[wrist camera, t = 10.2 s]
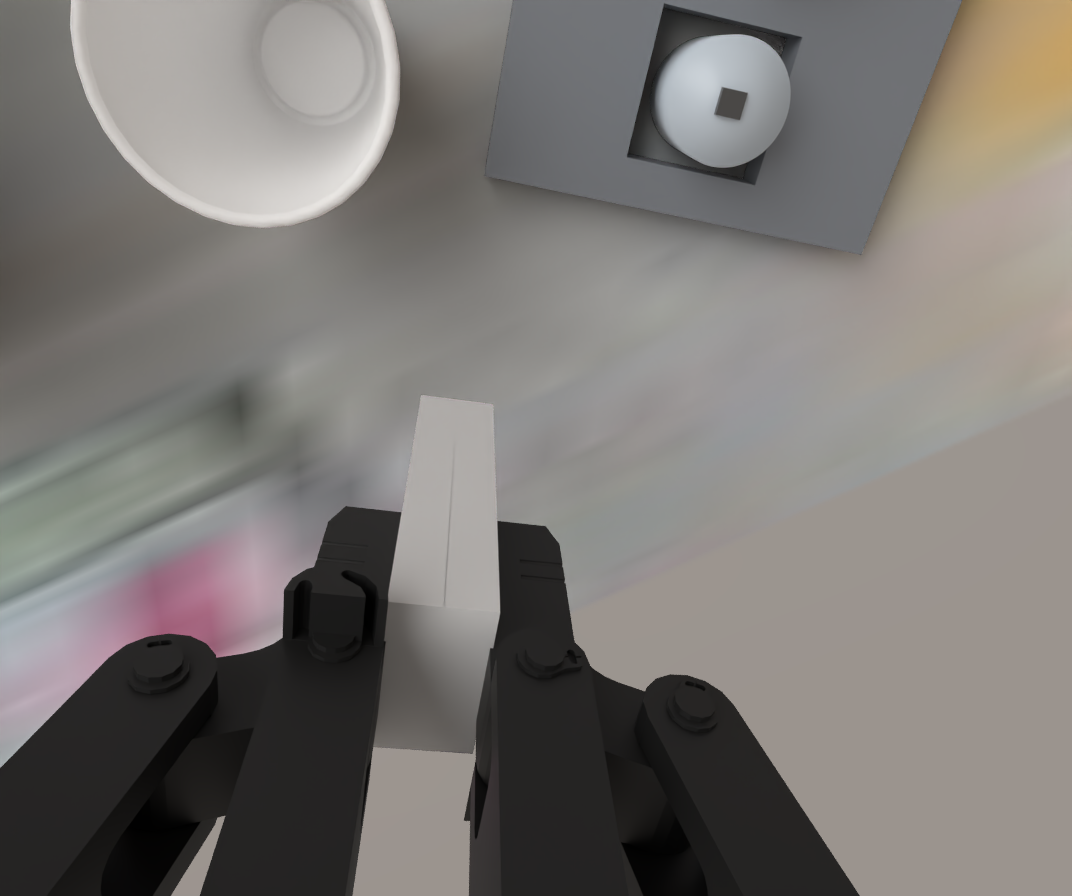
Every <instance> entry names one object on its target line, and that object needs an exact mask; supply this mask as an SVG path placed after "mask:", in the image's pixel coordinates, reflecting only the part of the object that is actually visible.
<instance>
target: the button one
mask: <svg viewBox="0 0 1072 896" xmlns="http://www.w3.org/2000/svg"><path fill="white" fill-rule="evenodd" d="M790 98H791V89H790V80H789V76H788V72H787V70H786V67H785V65H784V63H783V61H782V59H781V58H780V56H779V55H778V54H777V52H776V51H775V50H774V49H773V48H772V47H771V46H769V45H768V44H767V43H765V42H764V41H762V40H760V39H758V38H755V37H752V36H748V35H742V34H731V35H714V36H702V37H697V38H694V39H691V40H689V41H686V42H684V43H683V44H681V45H680V46H678V47H677V48H676V49H674V50H673V51H672V52H671V53H670V54H669V55H668V56H667V57H666V58H665V60H664V61H663V62H662V64H661V66H660V67H659V69H658V71H657V73H656V75H655V78H654V81H653V84H652V89H651V96H650V107H651V114H652V118H653V121H654V124H655V126H656V128H657V130H658V132H659V133H660V135H661V136H662V137H663V138H664V140H665V141H666V142H668V143H669V144H670V145H671V146H673V147H674V148H676V149H677V150H679V151H681V152H682V153H684V154H686V155H688V156H689V157H691V158H693V159H694V160H696V161H698V162H700V163H702V164H704V165H708V166H711V167H718V168H727V167H734V166H738V165H742V164H744V163H746V162H749V161H751V160H752V159H754V158H756V157H757V156H759V155H760V154H761V153H763V152H764V151H765V150H766V149H767V148H768V147H769V146H770V145H771V144H772V143H773V141H774V140H775V139H776V137H777V136H778V134H779V133H780V131H781V129H782V127H783V125H784V123H785V120H786V118H787V114H788V111H789V106H790Z"/></svg>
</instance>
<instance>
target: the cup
mask: <svg viewBox="0 0 1072 896" xmlns="http://www.w3.org/2000/svg"><path fill="white" fill-rule="evenodd" d="M70 31H71V38H72V44H73V51H74V58H75V64H76V67H77V70H78V73H79V76H80V79H81V82H82V85H83V88H84V91H85V95H86V98H87V100H88V102H89V104H90V105H91V107H92V109H93V111H94V113H95V115H96V117H97V119H98V121H99V123H100V125H101V127H102V129H103V130H104V132H105V133H106V134H107V136H108V137H109V139H110V140H111V141H112V143H113V144H114V145H115V147H116V148H117V149H118V151H119V152H120V154H121V155H122V156H123V158H124V159H125V160H126V161H127V162H128V163H129V164H130V165H131V166H132V167H133V168H134V169H135V170H136V171H137V172H138V173H139V174H140V175H141V176H142V177H143V178H144V179H145V180H146V181H147V182H148V183H149V184H151V185H152V186H154V187H155V188H156V189H158V190H159V191H161V192H162V193H163V194H165V195H166V196H168V197H169V198H170V199H172V200H173V201H174V202H176V203H178V204H180V205H182V206H184V207H186V208H188V209H190V210H192V211H194V212H196V213H198V214H200V215H202V216H204V217H207V218H211V219H214V220H217V221H221V222H224V223H228V224H231V225H235V226H245V227H255V228H272V227H282V226H292V225H295V224H298V223H302V222H305V221H308V220H311V219H314V218H317V217H320V216H322V215H323V214H325V213H327V212H329V211H330V210H332V209H334V208H336V207H337V206H339V205H341V204H342V203H344V202H345V201H346V200H347V199H348V198H349V197H350V196H351V195H353V194H354V193H355V192H356V191H357V190H358V189H359V188H360V187H361V186H362V185H363V184H364V183H365V182H366V180H367V179H368V178H369V176H370V175H371V173H372V172H373V171H374V169H375V168H376V166H377V165H378V163H379V162H380V161H381V159H382V156H383V154H384V152H385V149H386V147H387V145H388V142H389V140H390V138H391V135H392V133H393V129H394V125H395V120H396V115H397V111H398V106H399V101H400V61H399V54H398V48H397V41H396V35H395V30H394V27H393V24H392V21H391V18H390V15H389V12H388V9H387V6H386V3H385V0H71V15H70Z"/></svg>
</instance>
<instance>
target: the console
mask: <svg viewBox="0 0 1072 896" xmlns="http://www.w3.org/2000/svg"><path fill="white" fill-rule="evenodd" d="M961 2H962V0H513V5H512V11H511V17H510V23H509V29H508V35H507V41H506V47H505V53H504V59H503V65H502V71H501V77H500V83H499V89H498V95H497V101H496V107H495V113H494V119H493V125H492V131H491V137H490V143H489V149H488V155H487V162H486V168H485V174H484V176H486V177H491V178H496V179H500V180H505V181H510V182H515V183H520V184H524V185H529V186H534V187H539V188H544V189H548V190H553V191H558V192H563V193H567V194H572V195H577V196H582V197H587V198H591V199H596V200H601V201H606V202H611V203H615V204H620V205H625V206H630V207H635V208H639V209H644V210H649V211H654V212H658V213H663V214H668V215H673V216H678V217H682V218H687V219H692V220H697V221H702V222H706V223H711V224H716V225H721V226H726V227H730V228H735V229H740V230H745V231H749V232H754V233H759V234H764V235H769V236H773V237H778V238H783V239H788V240H793V241H797V242H802V243H807V244H812V245H817V246H821V247H826V248H831V249H836V250H840V251H845V252H850V253H855V254H860V255H861V254H862V252H863V249H864V247H865V244H866V242H867V239H868V237H869V234H870V232H871V229H872V226H873V224H874V221H875V219H876V216H877V214H878V211H879V209H880V206H881V204H882V201H883V199H884V196H885V194H886V191H887V189H888V186H889V184H890V181H891V179H892V176H893V173H894V171H895V168H896V166H897V163H898V161H899V158H900V156H901V153H902V151H903V148H904V146H905V143H906V141H907V138H908V136H909V133H910V131H911V128H912V126H913V123H914V120H915V118H916V115H917V113H918V110H919V108H920V105H921V103H922V100H923V98H924V95H925V93H926V90H927V88H928V85H929V83H930V80H931V78H932V75H933V73H934V70H935V67H936V65H937V62H938V60H939V57H940V55H941V52H942V50H943V47H944V45H945V42H946V40H947V37H948V35H949V32H950V30H951V27H952V25H953V22H954V19H955V17H956V14H957V12H958V9H959V7H960V4H961ZM663 8H667V9H671V10H675V11H679V12H683V13H687V14H692V15H696V16H700V17H704V18H708V19H712V20H716V21H720V22H724V23H728V24H733V25H737V26H741V27H745V28H749V29H753V30H757V31H761V32H765V33H769V34H774V35H778V36H782V37H786V38H787V39H786V42H785V45H784V49H783V52H782V55H781V59H782V61H783V63H784V65H785V67H786V70H787V72H788V76H789V80H790V89H791V98H790V106H789V111H788V114H787V118H786V120H785V123H784V125H783V127H782V129H781V131H780V133H779V134H778V136H777V137H776V139H775V140H774V141H773V143H772V144H771V145H770V146H769V147H768V148H767V149H766V150H765V151H764V152H763V153H761V154H760V155H759V156H757V157H756V158H754V159H752V160H751V161H749V162H748V164H747V167H746V170H745V173H744V177H743V179H742V178H738V177H733V176H729V175H724V174H719V173H715V172H710V171H706V170H701V169H696V168H692V167H687V166H683V165H678V164H674V163H669V162H664V161H660V160H655V159H651V158H646V157H641V156H637V155H632V154H628V149H629V145H630V141H631V137H632V133H633V129H634V125H635V121H636V117H637V112H638V108H639V104H640V100H641V96H642V92H643V88H644V84H645V80H646V76H647V71H648V67H649V63H650V59H651V55H652V51H653V47H654V43H655V39H656V35H657V30H658V26H659V22H660V18H661V14H662V10H663Z"/></svg>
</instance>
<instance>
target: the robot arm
mask: <svg viewBox="0 0 1072 896" xmlns="http://www.w3.org/2000/svg"><path fill="white" fill-rule="evenodd" d="M564 581H565V578H564V571H563V567H562V558H561V552H560V545H559V543H558V542H557V541H556V539H555V538H554V537H553V535H552V534H551V533H550V532H549V530H548V529H547V528H546V526H538V525H528V524H519V523H510V522H501V521H497V500H496V471H495V441H494V411H493V404H488V403H481V402H473V401H466V400H458V399H450V398H443V397H435V396H427V395H421V399H420V405H419V411H418V417H417V423H416V429H415V435H414V441H413V447H412V453H411V459H410V465H409V471H408V477H407V483H406V489H405V495H404V501H403V507H402V513H401V512H392V511H383V510H374V509H365V508H356V507H347V506H346V507H345V508H344V509H342V510H341V511H340V512H339V513H338V514H337V515H336V516H334V517H333V518H332V519H331V520H330V521H329V522H328V525H327V528H326V531H325V535H324V538H323V541H322V545H321V547H320V551H319V554H318V558H317V561H316V563H315V566H314V567H313V568H309V569H306V570H305V571H303V572H301V573H300V574H298V575H297V576H295V577H293V578H292V579H291V581H290V582H289V584H288V585H287V587H286V588H285V589H284V613H283V638H282V639H280V640H279V641H277V642H276V643H274V644H272V645H270V646H268V647H265V648H263V649H260V650H257V651H253V652H249V653H244V654H239V655H232V656H226V657H219V658H216V655H215V654H214V652H213V651H212V650H211V649H210V647H209V646H208V645H207V644H206V643H204V642H202V641H200V640H197V639H195V638H193V637H191V636H185V635H176V634H164V635H157V636H150V637H146V638H143V639H140V640H138V641H135V642H133V643H130V644H128V645H126V646H124V647H123V648H121V649H120V650H119V651H117V652H116V653H115V654H113V655H112V656H111V657H109V658H108V659H107V660H106V661H105V662H104V663H103V664H102V665H101V666H100V667H99V668H98V669H97V670H96V671H95V672H94V673H93V674H92V675H91V676H90V678H89V679H88V680H87V681H86V682H85V683H84V684H83V685H82V686H81V687H80V688H79V689H78V690H77V691H76V692H75V693H74V694H73V695H72V696H71V697H70V698H69V699H68V700H67V701H66V702H65V703H64V704H63V705H62V706H61V707H60V708H59V709H58V710H57V711H56V712H55V713H54V714H53V715H52V716H51V717H50V718H49V719H48V720H47V721H46V722H45V723H44V724H43V725H42V726H41V727H40V728H39V729H38V730H37V731H36V732H35V733H34V734H33V735H32V736H31V737H30V738H29V740H28V741H27V742H26V743H25V744H24V745H23V746H22V747H21V748H20V749H19V750H18V751H17V752H16V753H15V754H14V755H13V756H12V757H11V758H10V759H9V760H8V761H7V762H6V763H5V764H4V765H3V766H2V767H1V768H0V896H171V894H172V893H173V891H174V889H175V888H176V886H177V885H178V883H179V881H180V880H181V878H182V876H183V875H184V873H185V872H186V870H187V869H188V867H189V865H190V864H191V862H192V861H193V859H194V857H195V856H196V854H197V853H198V851H199V849H200V848H201V846H202V844H203V843H204V841H205V840H206V838H207V836H208V835H209V833H210V832H211V830H212V828H213V827H214V825H215V823H216V820H217V817H221V816H225V815H226V817H225V819H224V823H223V826H222V829H221V832H220V835H219V838H218V841H217V844H216V848H215V850H214V853H213V856H212V860H211V863H210V866H209V869H208V872H207V875H206V878H205V881H204V884H203V887H202V891H201V894H200V896H352V894H353V887H354V881H355V874H356V867H357V860H358V853H359V846H360V840H361V833H362V826H363V819H364V812H365V805H366V797H367V792H368V785H369V777H370V768H371V758H372V751H373V747H382V748H396V749H412V750H426V751H441V752H455V753H470V754H472V753H473V750H474V745H475V740H476V762H475V767H474V772H473V777H472V783H471V787H470V792H469V798H468V802H467V807H466V812H465V818H464V820H465V821H470V865H469V896H859V894H858V893H857V891H856V890H855V888H854V887H853V885H852V883H851V882H850V880H849V879H848V877H847V876H846V874H845V873H844V871H843V870H842V868H841V867H840V865H839V864H838V862H837V861H836V859H835V858H834V856H833V855H832V853H831V852H830V850H829V849H828V847H827V846H826V844H825V842H824V841H823V839H822V838H821V836H820V835H819V834H818V832H817V830H816V829H815V828H814V826H813V824H812V823H811V821H810V820H809V818H808V817H807V815H806V814H805V812H804V811H803V809H802V808H801V807H800V805H799V803H798V802H797V800H796V799H795V797H794V796H793V794H792V792H791V791H790V790H789V788H788V787H787V785H786V783H785V782H784V780H783V779H782V778H781V776H780V774H779V773H778V771H777V770H776V768H775V767H774V766H773V764H772V762H771V761H770V759H769V758H768V756H767V755H766V753H765V752H764V750H763V749H762V747H761V746H760V744H759V743H758V741H757V739H756V738H755V736H754V735H753V733H752V732H751V731H750V729H749V728H748V726H747V725H746V723H745V721H744V720H743V718H742V717H741V715H740V714H739V712H738V711H737V709H736V708H735V706H734V705H733V704H732V703H731V701H730V700H729V699H728V698H727V697H726V696H725V695H724V694H723V693H722V692H721V691H720V690H718V689H717V688H715V687H713V686H712V685H710V684H709V683H707V682H706V681H703V680H699V679H697V678H694V677H691V676H688V675H667V676H664V677H660V678H657V679H655V680H654V681H653V682H652V683H651V684H650V685H649V686H648V687H647V688H646V691H642V690H639V689H636V688H633V687H630V686H627V685H624V684H621V683H618V682H616V681H614V680H611V679H609V678H607V677H605V676H603V675H602V674H600V673H599V672H597V671H595V670H594V669H593V668H592V667H591V666H590V664H589V662H588V659H587V657H586V655H585V653H584V651H583V650H582V649H581V648H580V647H579V646H578V645H577V644H576V643H575V641H574V636H573V630H572V624H571V617H570V610H569V604H568V597H567V591H566V584H565V583H564Z"/></svg>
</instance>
